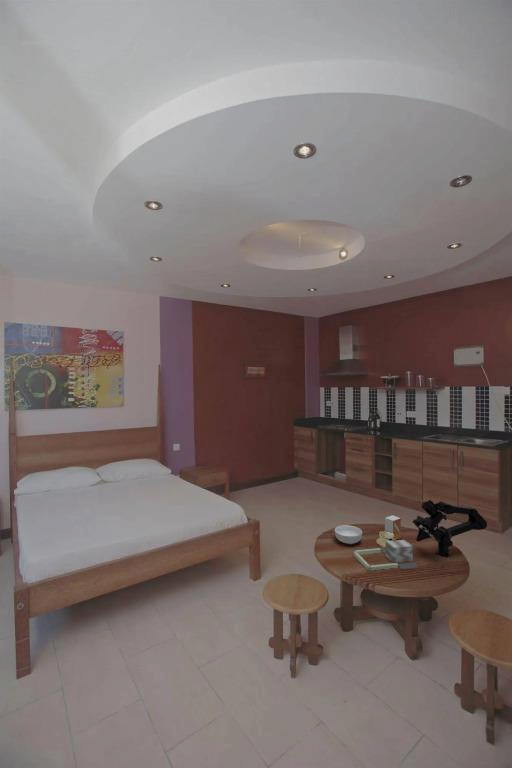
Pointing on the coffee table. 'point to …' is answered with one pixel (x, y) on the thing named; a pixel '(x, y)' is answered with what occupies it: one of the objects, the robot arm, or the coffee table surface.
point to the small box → (393, 526)
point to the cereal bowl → (348, 534)
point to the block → (399, 551)
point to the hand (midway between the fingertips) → (416, 540)
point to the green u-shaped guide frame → (383, 566)
